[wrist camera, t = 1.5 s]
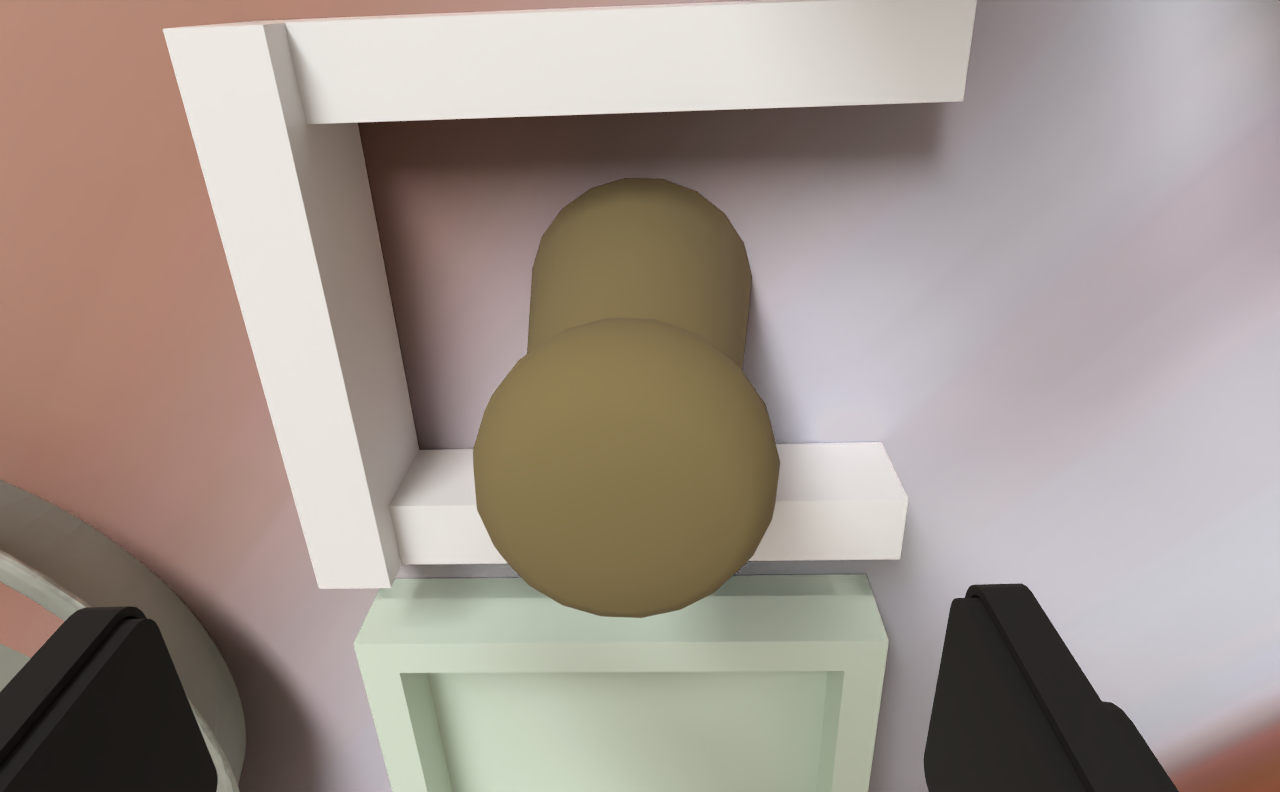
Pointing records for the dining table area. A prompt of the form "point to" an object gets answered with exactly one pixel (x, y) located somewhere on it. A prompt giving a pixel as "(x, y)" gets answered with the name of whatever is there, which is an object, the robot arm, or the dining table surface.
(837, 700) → the tray
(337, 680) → the dining table surface
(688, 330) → the cork
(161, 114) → the dining table surface
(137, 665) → the robot arm
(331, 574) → the dock
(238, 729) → the cake pan
